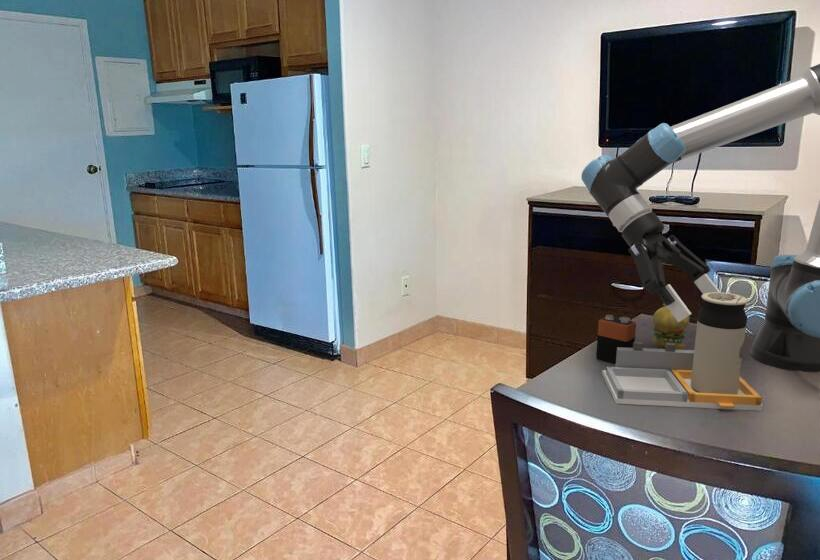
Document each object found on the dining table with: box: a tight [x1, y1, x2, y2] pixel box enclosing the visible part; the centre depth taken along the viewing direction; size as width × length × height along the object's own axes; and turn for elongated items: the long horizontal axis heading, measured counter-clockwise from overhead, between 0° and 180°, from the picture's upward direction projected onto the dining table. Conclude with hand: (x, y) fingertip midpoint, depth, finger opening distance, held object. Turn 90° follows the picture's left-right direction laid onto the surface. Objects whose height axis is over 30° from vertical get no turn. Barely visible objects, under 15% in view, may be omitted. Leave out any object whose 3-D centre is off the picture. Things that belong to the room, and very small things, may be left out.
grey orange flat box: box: [601, 341, 764, 412], centre depth 113 cm, size 25×15×7 cm, turn 82°
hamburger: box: [652, 303, 690, 350], centre depth 134 cm, size 8×7×12 cm
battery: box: [595, 314, 637, 365], centre depth 130 cm, size 4×7×10 cm, turn 46°
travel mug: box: [691, 291, 749, 394], centre depth 111 cm, size 8×8×18 cm
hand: (703, 311), depth 112 cm, fingers open, 13 cm apart
